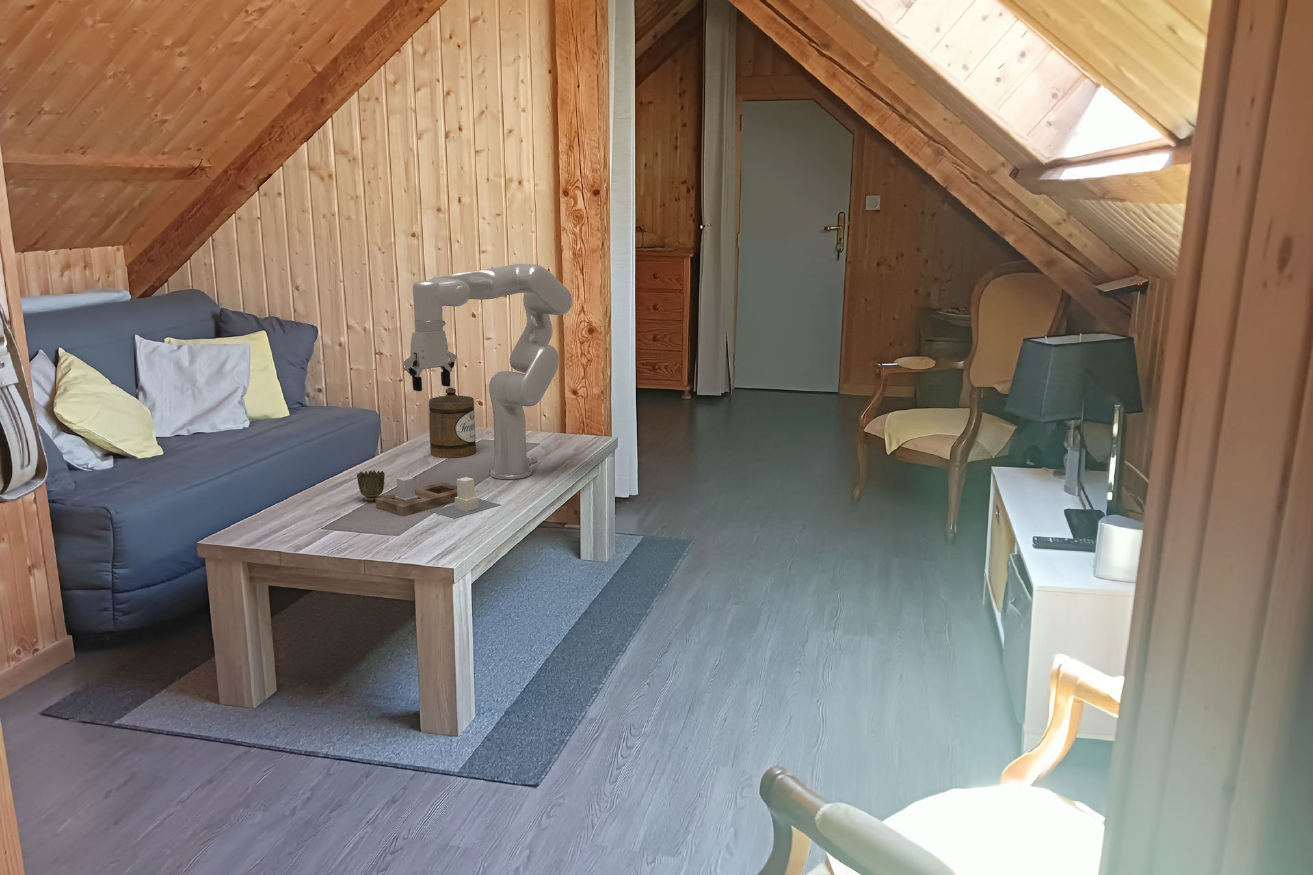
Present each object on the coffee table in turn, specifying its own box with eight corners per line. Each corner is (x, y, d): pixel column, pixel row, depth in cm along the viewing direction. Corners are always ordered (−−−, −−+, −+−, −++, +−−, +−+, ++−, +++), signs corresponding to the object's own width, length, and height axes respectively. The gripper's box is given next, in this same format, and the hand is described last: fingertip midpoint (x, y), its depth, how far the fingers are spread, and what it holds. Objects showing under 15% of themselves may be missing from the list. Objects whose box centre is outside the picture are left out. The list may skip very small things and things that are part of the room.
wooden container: (471, 458, 322) (468, 391, 317) (425, 458, 323) (422, 391, 318) (480, 447, 337) (477, 384, 332) (436, 447, 337) (433, 383, 332)
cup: (385, 504, 271) (383, 475, 269) (357, 505, 270) (355, 477, 268) (387, 496, 278) (385, 469, 276) (359, 498, 277) (358, 470, 275)
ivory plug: (466, 504, 268) (465, 476, 266) (478, 508, 265) (477, 479, 264) (454, 508, 265) (453, 479, 263) (466, 511, 262) (465, 482, 261)
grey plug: (407, 503, 269) (405, 475, 268) (418, 507, 266) (416, 478, 265) (395, 507, 266) (393, 478, 265) (406, 510, 263) (404, 481, 262)
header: (441, 492, 283) (441, 482, 282) (469, 499, 275) (468, 489, 275) (376, 509, 266) (375, 498, 266) (403, 517, 259) (403, 506, 258)
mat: (476, 500, 275) (476, 498, 275) (501, 506, 269) (501, 504, 268) (430, 513, 263) (430, 511, 263) (454, 520, 257) (454, 518, 256)
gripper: (445, 323, 279) (448, 383, 283) (394, 328, 266) (397, 391, 270) (462, 324, 275) (465, 385, 278) (411, 330, 262) (414, 394, 265)
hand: (432, 388), depth 274 cm, fingers open, 9 cm apart
